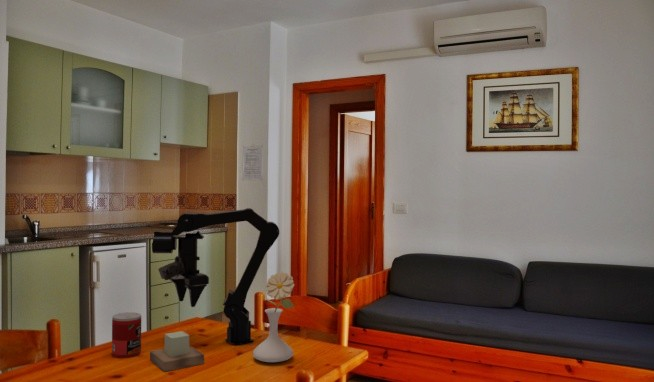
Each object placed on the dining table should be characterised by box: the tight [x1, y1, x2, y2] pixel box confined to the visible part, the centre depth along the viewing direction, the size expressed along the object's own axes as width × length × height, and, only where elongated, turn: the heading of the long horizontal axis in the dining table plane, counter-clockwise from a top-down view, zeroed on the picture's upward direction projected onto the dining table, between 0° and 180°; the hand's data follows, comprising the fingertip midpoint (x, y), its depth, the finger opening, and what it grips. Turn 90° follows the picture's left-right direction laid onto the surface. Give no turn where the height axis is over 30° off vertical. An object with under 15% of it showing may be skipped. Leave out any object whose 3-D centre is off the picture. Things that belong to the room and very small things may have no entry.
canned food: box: [111, 311, 142, 359], centre depth 147 cm, size 8×8×11 cm
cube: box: [164, 330, 190, 357], centre depth 141 cm, size 5×5×5 cm
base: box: [149, 344, 205, 373], centre depth 141 cm, size 11×11×2 cm
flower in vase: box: [252, 271, 295, 363], centre depth 144 cm, size 13×11×25 cm
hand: (186, 303), depth 158 cm, fingers open, 9 cm apart
